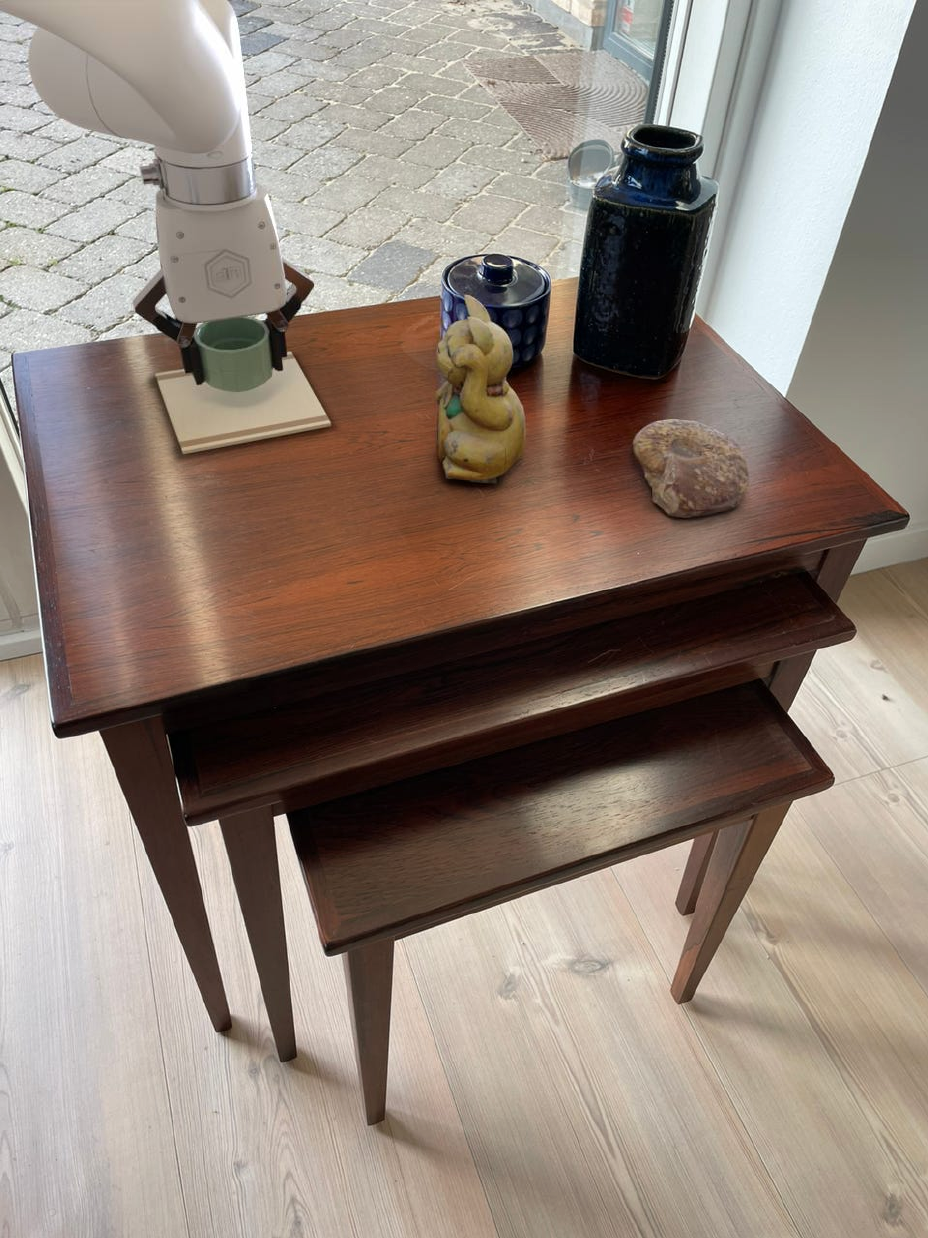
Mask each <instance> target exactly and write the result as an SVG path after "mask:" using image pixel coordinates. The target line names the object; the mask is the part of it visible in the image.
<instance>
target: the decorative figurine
mask: <svg viewBox="0 0 928 1238" xmlns="http://www.w3.org/2000/svg"><path fill="white" fill-rule="evenodd" d="M463 298H464V303H465V306H466V309H467V313H468V316H467V317H466V318H465V319H460V320H457V321H455V322H453V323H452V324H451V325H449V326H448V329H447V330H446V332H445V335H444V337H443V338H442V340H440V341H439V342H438V343H437V346H436V352H435V353H436V356H435V357H436V365H437V369H438V371H439V372H440V373H441V375H442V377H443V378H444V379H445V382H443V383H442V384H441V386H440V387H439V388H438V389H437V390H436V392H435V394H434V395H435V401H436V404H437V405H438V408H437V420H436V450H437V454H438V459H439V462H440V463H442V467H443V470H444V474H445V478H446V479H448V480H462V481H470V482H472V483H479V484H480V483H482V484H483V483H484V484H495V485H496V484H497V478H498V477H500V476H502V475H504V474H506V473H507V472H508V471H509V470H510V469H511V468H512V467H513V466H514V464H515V462H517V461H519V459H520V458H521V457H522V454H523V452H524V450H525V445H526V438H527V437H526V436H527V426H526V417H525V411H524V406H523V405H522V403H521V400H520V399H519V395H517V393H516V391H514V389H513V388H512V387H511V386H510V384H509V383H508V381H507V375H508V373H509V372H510V371H511V367H512V365H513V358H514V351H513V345H512V342H511V339H510V337H509V336H508V333H506V331H505V330H504V329H503V327H501V326H500V325H498V324H496V323H495V322H493V321H492V320H491V317H490V314H489V311H488V310H487V309H486V307H485V305H483V304H482V303H481V302H480V301H479V300H478V299H477V298H475V297H473V296H471V295H470V294H463Z"/></svg>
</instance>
